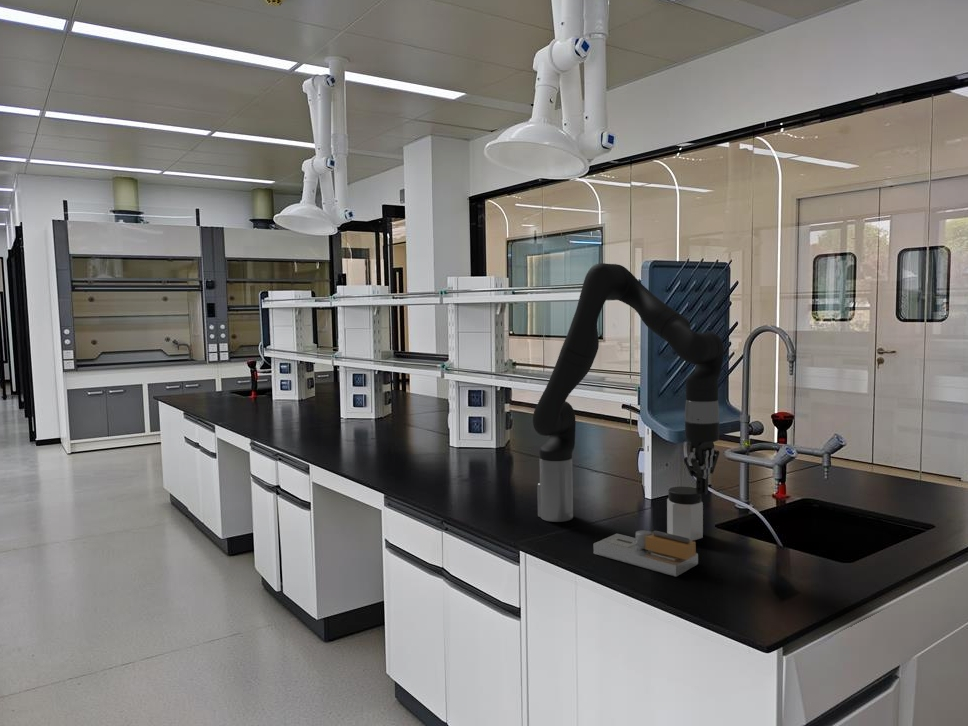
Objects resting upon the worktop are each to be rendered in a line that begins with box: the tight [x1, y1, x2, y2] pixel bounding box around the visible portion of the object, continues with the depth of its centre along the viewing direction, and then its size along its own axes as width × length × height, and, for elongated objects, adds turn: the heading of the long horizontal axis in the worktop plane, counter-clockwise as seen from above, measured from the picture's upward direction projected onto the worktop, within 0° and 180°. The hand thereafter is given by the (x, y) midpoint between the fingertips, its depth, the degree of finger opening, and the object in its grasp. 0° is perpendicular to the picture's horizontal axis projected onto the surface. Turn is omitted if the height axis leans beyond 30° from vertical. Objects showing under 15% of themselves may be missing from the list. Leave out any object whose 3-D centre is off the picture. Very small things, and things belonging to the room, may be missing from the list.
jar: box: [666, 486, 704, 542], centre depth 177 cm, size 9×8×12 cm
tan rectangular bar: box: [635, 529, 697, 560], centre depth 158 cm, size 14×4×4 cm, turn 45°
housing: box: [593, 533, 699, 578], centre depth 162 cm, size 22×10×3 cm, turn 45°
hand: (702, 493), depth 159 cm, fingers closed
